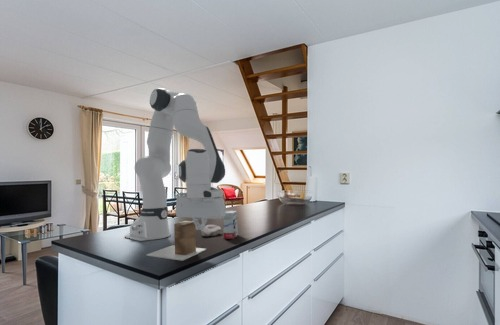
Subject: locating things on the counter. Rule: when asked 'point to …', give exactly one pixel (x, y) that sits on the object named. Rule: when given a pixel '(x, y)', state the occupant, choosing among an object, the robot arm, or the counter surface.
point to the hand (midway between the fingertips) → (200, 230)
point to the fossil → (211, 230)
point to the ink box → (230, 225)
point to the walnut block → (185, 237)
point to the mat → (173, 253)
